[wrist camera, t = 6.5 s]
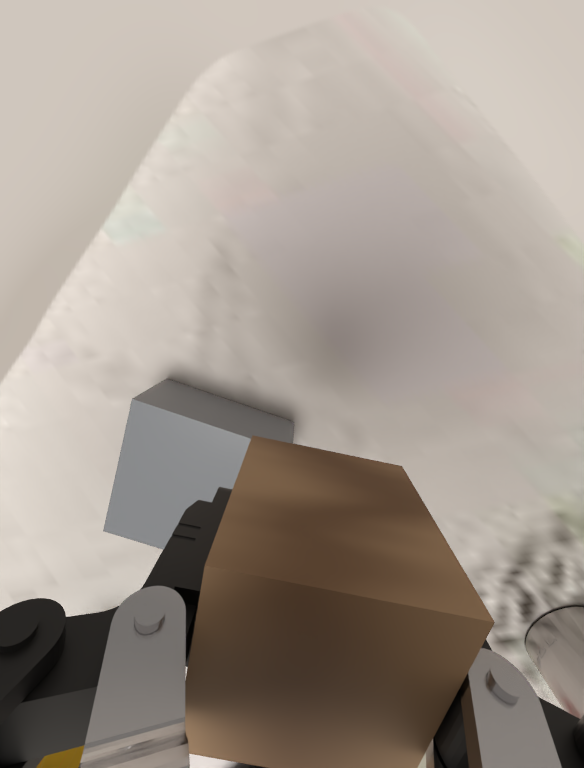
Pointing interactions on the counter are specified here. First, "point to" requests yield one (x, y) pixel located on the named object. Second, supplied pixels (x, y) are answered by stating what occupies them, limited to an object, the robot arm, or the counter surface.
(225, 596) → the walnut cube
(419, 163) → the counter surface
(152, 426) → the gray square block
